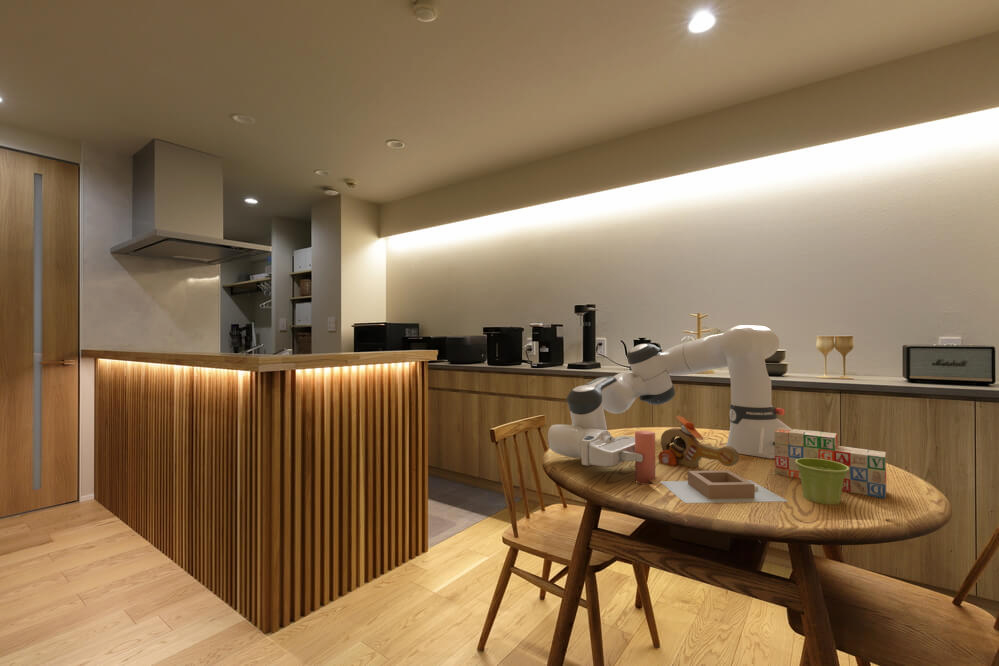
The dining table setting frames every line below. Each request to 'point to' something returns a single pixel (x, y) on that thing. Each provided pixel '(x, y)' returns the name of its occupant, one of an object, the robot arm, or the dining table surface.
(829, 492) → the plant pot
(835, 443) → the stack of blocks
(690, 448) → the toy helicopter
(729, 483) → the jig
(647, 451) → the pink cylinder peg
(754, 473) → the dining table surface
